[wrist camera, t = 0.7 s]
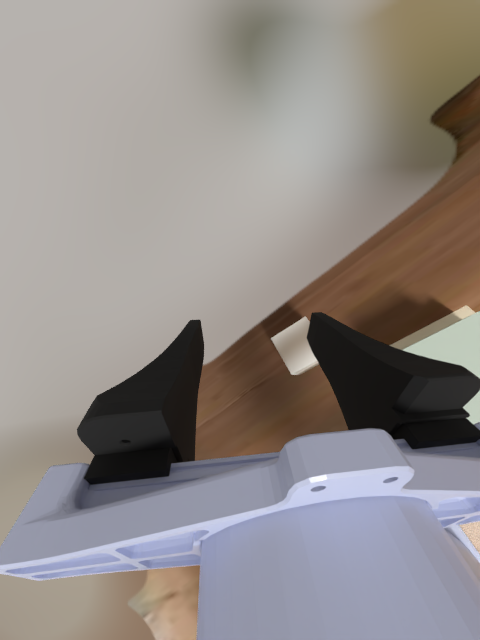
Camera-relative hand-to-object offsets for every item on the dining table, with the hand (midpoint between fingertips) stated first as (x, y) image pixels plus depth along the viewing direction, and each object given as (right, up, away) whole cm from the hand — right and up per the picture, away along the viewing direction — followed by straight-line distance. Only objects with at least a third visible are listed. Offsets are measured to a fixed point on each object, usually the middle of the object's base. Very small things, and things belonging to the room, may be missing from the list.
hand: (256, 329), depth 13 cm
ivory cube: (+8, -4, +15) cm, 17 cm away
